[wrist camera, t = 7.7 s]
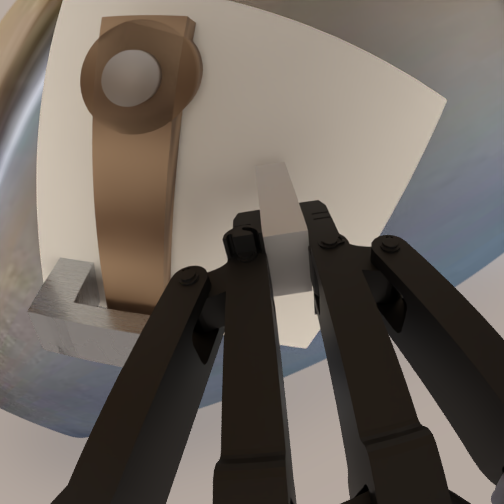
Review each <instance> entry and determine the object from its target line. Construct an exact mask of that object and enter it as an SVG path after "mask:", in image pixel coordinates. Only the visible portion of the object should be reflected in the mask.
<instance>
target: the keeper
mask: <svg viewBox="0 0 504 504" xmlns="http://www.w3.org/2000/svg"><path fill="white" fill-rule="evenodd" d="M99 303H100V297H99V292H98V286H97V280H96V273H95V267H94V263H93V262H87V261H80V260H73V259H67V258H61V257H60V259H59V260H58V262H57V263H56V265H55V266H54V268H53V269H52V271H51V273H50V274H49V276H48V277H47V279H46V281H45V282H44V284H43V285H42V287H41V289H40V290H39V292H38V294H37V295H36V297H35V299H34V301H33V302H32V304H31V306H30V308H29V309H28V311H27V312H28V314H29V317H30V319H31V322H32V324H33V327H34V329H35V331H36V334H37V336H38V338H39V340H40V343H41V345H42V347H43V349H45V350H48V351H52V352H56V353H60V354H64V355H68V356H72V357H77V358H81V359H85V360H90V361H95V362H99V363H104V364H109V365H115V366H120V367H123V366H124V364H125V362H126V360H127V358H128V356H129V354H130V353H131V351H132V349H133V347H134V345H135V343H136V341H137V339H138V337H139V335H140V334H141V332H142V330H143V328H144V326H145V324H146V322H147V321H148V319H149V317H150V315H144V314H137V313H131V312H124V311H118V310H112V309H106V308H101V307H98V305H99Z"/></svg>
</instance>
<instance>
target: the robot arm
mask: <svg viewBox="0 0 504 504" xmlns="http://www.w3.org/2000/svg"><path fill="white" fill-rule="evenodd" d="M255 169H256V178H257V188H258V198H259V207H260V210H254V211H247V212H241V213H238V214H237V215H236V217H235V218H234V219H233V229H231V230H229V231H228V232H226V233H225V234H224V236H223V239H222V240H223V244H224V247H225V251H226V255H227V259H228V260H227V263H226V264H224V265H223V266H221V267H220V268H217V269H215V270H213V271H210V272H207V271H206V269H205V268H203V267H201V266H188V267H185V268H182V269H180V270H179V271H177V272H176V273H175V274H174V275H173V276H172V278H171V279H170V281H169V283H168V285H167V286H166V288H165V290H164V292H163V293H162V295H161V297H160V299H159V301H158V302H157V304H156V306H155V308H154V310H153V311H152V313H151V315H150V317H149V319H148V321H147V322H146V324H145V326H144V328H143V330H142V332H141V334H140V335H139V337H138V339H137V341H136V343H135V345H134V347H133V349H132V351H131V353H130V354H129V356H128V358H127V360H126V362H125V364H124V366H123V368H122V370H121V372H120V374H119V376H118V378H117V380H116V382H115V384H114V386H113V388H112V390H111V392H110V394H109V396H108V398H107V400H106V402H105V404H104V406H103V408H102V410H101V412H100V414H99V417H98V419H97V421H96V423H95V425H94V427H93V429H92V431H91V434H90V436H89V438H88V440H87V442H86V444H85V447H84V449H83V451H82V453H81V456H80V458H79V460H78V462H77V465H76V467H75V469H74V472H73V474H72V476H71V479H70V481H69V483H68V485H67V486H66V488H65V489H64V490H63V491H62V492H61V493H60V494H59V495H58V496H57V497H56V498H55V500H53V501H52V503H51V504H166V502H167V499H168V496H169V493H170V489H171V487H172V484H173V481H174V478H175V475H176V472H177V469H178V466H179V463H180V460H181V458H182V455H183V451H184V449H185V446H186V443H187V440H188V437H189V434H190V431H191V428H192V425H193V422H194V419H195V417H196V413H197V411H198V408H199V405H200V402H201V399H202V396H203V393H204V390H205V387H206V384H207V381H208V378H209V375H210V373H211V370H212V367H213V364H214V361H215V358H216V355H217V352H218V349H219V346H220V343H221V340H222V337H223V334H224V354H223V386H222V427H221V429H222V430H221V457H220V460H219V461H218V462H217V463H216V466H215V469H214V477H213V504H296V495H295V487H294V480H293V470H292V460H291V449H290V439H289V428H288V419H287V409H286V399H285V391H284V381H283V371H282V362H281V353H280V344H279V335H278V326H277V318H276V309H275V302H274V297H276V296H283V295H289V294H296V293H302V292H308V291H312V286H313V291H314V311H315V315H316V314H317V316H318V320H319V324H320V329H321V333H322V338H323V342H324V347H325V351H326V356H327V361H328V365H329V370H330V375H331V380H332V385H333V389H334V395H335V400H336V404H337V410H338V415H339V421H340V426H341V431H342V437H343V443H344V448H345V454H346V460H347V465H348V486H349V495H350V500H348V501H346V502H343V503H341V504H471V503H469V502H467V501H466V500H464V499H463V498H461V497H460V496H458V495H457V494H455V493H453V492H452V491H450V490H448V486H447V482H446V478H445V474H444V470H443V466H442V463H441V459H440V456H439V452H438V448H437V445H436V442H435V439H434V437H433V434H432V433H431V431H430V430H429V429H428V428H427V427H425V426H422V425H421V424H420V422H419V420H418V418H417V414H416V411H415V408H414V405H413V402H412V399H411V396H410V393H409V390H408V387H407V384H406V381H405V378H404V375H403V372H402V370H401V367H400V364H399V361H398V359H397V356H396V353H395V351H394V348H393V345H392V343H391V340H390V337H391V338H392V340H393V341H394V342H395V344H396V345H397V346H398V348H399V349H400V351H401V352H402V354H403V355H404V356H405V358H406V359H407V361H408V362H409V363H410V365H411V366H412V368H413V369H414V371H415V372H416V373H417V375H418V376H419V378H420V379H421V381H422V382H423V383H424V385H425V386H426V388H427V389H428V391H429V392H430V394H431V395H432V397H433V398H434V400H435V401H436V403H437V404H438V406H439V407H440V409H441V410H442V412H443V413H444V415H445V416H446V418H447V419H448V421H449V422H450V424H451V426H452V427H453V428H454V430H455V432H456V433H457V435H458V436H459V438H460V440H461V441H462V443H463V444H464V446H465V447H466V449H467V451H468V452H469V454H470V456H471V457H472V459H473V460H474V462H475V463H476V465H477V466H478V467H479V469H480V470H481V471H482V473H483V474H484V475H485V476H486V477H487V478H488V479H489V480H490V481H491V482H492V483H494V484H495V485H496V488H495V491H494V492H493V494H492V496H491V502H492V504H504V340H503V338H502V337H501V336H500V335H499V334H498V333H497V332H496V331H495V329H494V328H493V327H492V326H491V325H490V324H489V323H488V322H487V321H486V319H485V318H484V317H483V316H482V315H481V314H480V313H479V312H478V311H477V310H476V309H475V308H474V307H473V306H472V305H471V304H470V303H469V301H467V300H466V298H465V297H464V296H463V295H462V294H461V293H460V292H459V291H458V290H457V289H456V288H455V287H454V286H453V285H452V284H451V283H450V282H449V281H448V280H447V279H446V278H445V277H443V276H442V275H441V274H440V273H439V272H438V271H437V270H436V269H435V268H434V267H433V266H432V265H431V264H430V263H429V262H428V261H427V260H426V259H424V258H423V257H422V256H421V255H420V254H419V253H418V252H417V251H416V250H415V249H414V248H412V247H411V246H410V245H409V244H408V243H407V242H406V241H405V240H403V239H401V238H400V237H397V236H393V235H383V236H379V237H377V238H375V239H374V240H373V241H372V243H371V247H368V246H357V245H352V244H349V241H348V240H347V239H346V237H345V236H343V235H341V234H339V232H338V230H337V228H336V226H335V223H334V221H333V219H332V217H331V215H330V213H329V211H328V209H327V207H326V205H325V204H324V203H322V202H321V201H319V200H314V201H307V202H300V203H299V202H298V199H297V196H296V193H295V190H294V187H293V184H292V181H291V179H290V176H289V173H288V170H287V167H286V165H285V162H280V163H273V164H266V165H260V166H255ZM388 334H389V335H388ZM389 336H390V337H389Z"/></svg>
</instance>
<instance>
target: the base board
mask: <svg viewBox="0 0 504 504" xmlns="http://www.w3.org/2000/svg"><path fill="white" fill-rule="evenodd" d="M128 15H173V16H188V17H189V18H190V19H192V20H193V21H194V22H196V26H195V32H194V37H193V42H194V43H195V44H196V46H197V48H198V50H199V52H200V55H201V58H202V63H203V75H202V80H201V84H200V87H199V89H198V91H197V93H196V95H195V96H194V98H193V99H192V101H191V102H190V103H189V104H188V105H187V106H186V107H185V108H184V109H183V111H182V120H181V128H180V137H179V147H178V157H177V168H176V180H175V194H174V208H173V226H172V247H171V278H172V276H173V275H174V274H175V273H176V272H177V271H179V270H180V269H182V268H185V267H188V266H201V267H203V268H205V269H206V271H207V272H210V271H213V270H215V269H217V268H220V267H221V266H223V265H224V264H226V263H227V260H228V259H227V255H226V251H225V247H224V244H223V240H222V239H223V236H224V234H225V233H226V232H228V231H229V230H231V229H233V219H234V218H235V217H236V215H237V214H238V213H241V212H247V211H254V210H260V207H259V198H258V188H257V178H256V169H255V166H260V165H266V164H273V163H280V162H285V165H286V167H287V170H288V173H289V176H290V179H291V181H292V184H293V187H294V190H295V193H296V196H297V199H298V202H299V203H300V202H307V201H314V200H319V201H321V202H322V203H324V204H325V205H326V207H327V209H328V211H329V213H330V215H331V217H332V219H333V221H334V223H335V226H336V228H337V230H338V232H339V234H341V235H343V236H345V237H346V239H347V240H348V241H349V244H352V245H357V246H368V247H371V243H372V241H373V240H374V239H375V238H377V237H379V235H380V234H381V232H382V230H383V228H384V227H385V225H386V223H387V221H388V220H389V218H390V216H391V214H392V212H393V211H394V209H395V207H396V205H397V203H398V202H399V200H400V198H401V196H402V194H403V192H404V190H405V188H406V186H407V185H408V183H409V181H410V179H411V177H412V175H413V173H414V171H415V169H416V167H417V165H418V163H419V161H420V159H421V157H422V155H423V153H424V151H425V149H426V147H427V144H428V142H429V140H430V138H431V136H432V134H433V132H434V129H435V127H436V125H437V123H438V121H439V118H440V116H441V114H442V111H443V109H444V107H445V105H446V102H447V99H445V98H444V97H442V96H441V95H440V94H438V93H437V92H435V91H434V90H432V89H431V88H429V87H428V86H426V85H424V84H423V83H421V82H420V81H418V80H417V79H415V78H413V77H412V76H410V75H408V74H407V73H405V72H403V71H402V70H400V69H398V68H396V67H395V66H393V65H391V64H389V63H388V62H386V61H384V60H382V59H380V58H378V57H376V56H374V55H373V54H371V53H369V52H367V51H365V50H363V49H361V48H359V47H357V46H354V45H352V44H350V43H348V42H346V41H344V40H342V39H339V38H337V37H335V36H333V35H330V34H328V33H326V32H323V31H321V30H318V29H316V28H313V27H311V26H308V25H306V24H303V23H300V22H298V21H295V20H292V19H289V18H286V17H284V16H281V15H278V14H275V13H271V12H268V11H265V10H262V9H258V8H255V7H252V6H248V5H244V4H241V3H237V2H233V1H229V0H63V2H62V5H61V9H60V12H59V16H58V19H57V23H56V27H55V31H54V35H53V39H52V44H51V48H50V53H49V58H48V63H47V68H46V74H45V80H44V87H43V94H42V101H41V110H40V119H39V131H38V146H37V219H38V235H39V247H40V257H41V265H42V273H43V281H44V282H45V281H46V279H47V277H48V276H49V274H50V273H51V271H52V269H53V268H54V266H55V265H56V263H57V262H58V260H59V259H60V257H61V258H67V259H73V260H80V261H87V262H93V263H94V267H95V273H96V280H97V286H98V292H99V297H100V303H99V305H98V306H102V307H105V308H107V304H106V298H105V292H104V286H103V279H102V272H101V265H100V258H99V249H98V240H97V231H96V220H95V207H94V191H93V166H92V120H93V116H92V115H91V113H90V112H89V111H88V109H87V107H86V105H85V103H84V101H83V98H82V94H81V88H80V75H81V69H82V65H83V62H84V59H85V57H86V55H87V53H88V51H89V49H90V48H91V47H92V45H93V44H94V42H95V41H96V40H97V39H98V38H99V34H100V27H101V20H102V17H109V16H128ZM274 302H275V309H276V318H277V326H278V335H279V344H280V345H285V346H292V347H299V348H307V347H308V346H309V344H310V343H311V341H312V340H313V339H314V337H315V336H316V334H317V333H318V331H319V330H320V324H319V320H318V316H317V314H316V315H315V311H314V291H313V286H312V291H308V292H302V293H296V294H289V295H283V296H276V297H274ZM223 335H224V334H223Z"/></svg>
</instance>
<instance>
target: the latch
mask: <svg viewBox="0 0 504 504" xmlns="http://www.w3.org/2000/svg"><path fill="white" fill-rule="evenodd" d="M195 26H196V22H194V21H193V20H192V19H190V18H189V17H188V16H173V15H128V16H109V17H102V20H101V27H100V34H99V38H98V39H97V40H96V41H95V42H94V44H93V45H92V47H91V48H90V49H89V51H88V53H87V55H86V57H85V59H84V62H83V65H82V69H81V75H80V88H81V94H82V98H83V101H84V103H85V105H86V107H87V109H88V111H89V112H90V113H91V115H92V116H93V120H92V166H93V191H94V207H95V220H96V231H97V240H98V249H99V258H100V265H101V272H102V279H103V286H104V292H105V298H106V304H107V309H112V310H118V311H124V312H131V313H137V314H144V315H151V313H152V311H153V310H154V308H155V306H156V304H157V302H158V301H159V299H160V297H161V295H162V293H163V292H164V290H165V288H166V286H167V285H168V283H169V281H170V279H171V247H172V226H173V208H174V194H175V180H176V168H177V157H178V147H179V137H180V128H181V120H182V111H183V109H184V108H185V107H186V106H187V105H188V104H189V103H190V102H191V101H192V99H193V98H194V96H195V95H196V93H197V91H198V89H199V87H200V84H201V80H202V75H203V63H202V58H201V55H200V52H199V50H198V48H197V46H196V44H195V43H194V42H193V37H194V32H195Z"/></svg>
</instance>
